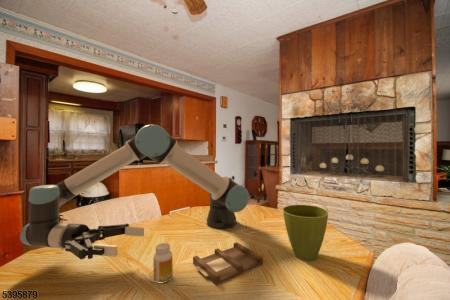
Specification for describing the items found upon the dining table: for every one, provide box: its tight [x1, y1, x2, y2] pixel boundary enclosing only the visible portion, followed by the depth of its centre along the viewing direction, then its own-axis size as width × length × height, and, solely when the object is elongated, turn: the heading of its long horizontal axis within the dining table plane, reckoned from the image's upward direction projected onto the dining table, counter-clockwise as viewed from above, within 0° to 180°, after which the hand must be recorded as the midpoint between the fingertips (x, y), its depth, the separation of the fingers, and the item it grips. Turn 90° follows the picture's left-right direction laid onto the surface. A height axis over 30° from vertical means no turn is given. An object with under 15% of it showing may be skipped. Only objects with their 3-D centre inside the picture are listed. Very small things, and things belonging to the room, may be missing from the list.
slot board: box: [192, 241, 264, 286], centre depth 71 cm, size 14×20×2 cm
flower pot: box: [282, 204, 329, 261], centre depth 76 cm, size 15×15×16 cm
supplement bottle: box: [152, 242, 174, 282], centre depth 64 cm, size 5×5×10 cm
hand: (131, 240), depth 65 cm, fingers open, 13 cm apart
